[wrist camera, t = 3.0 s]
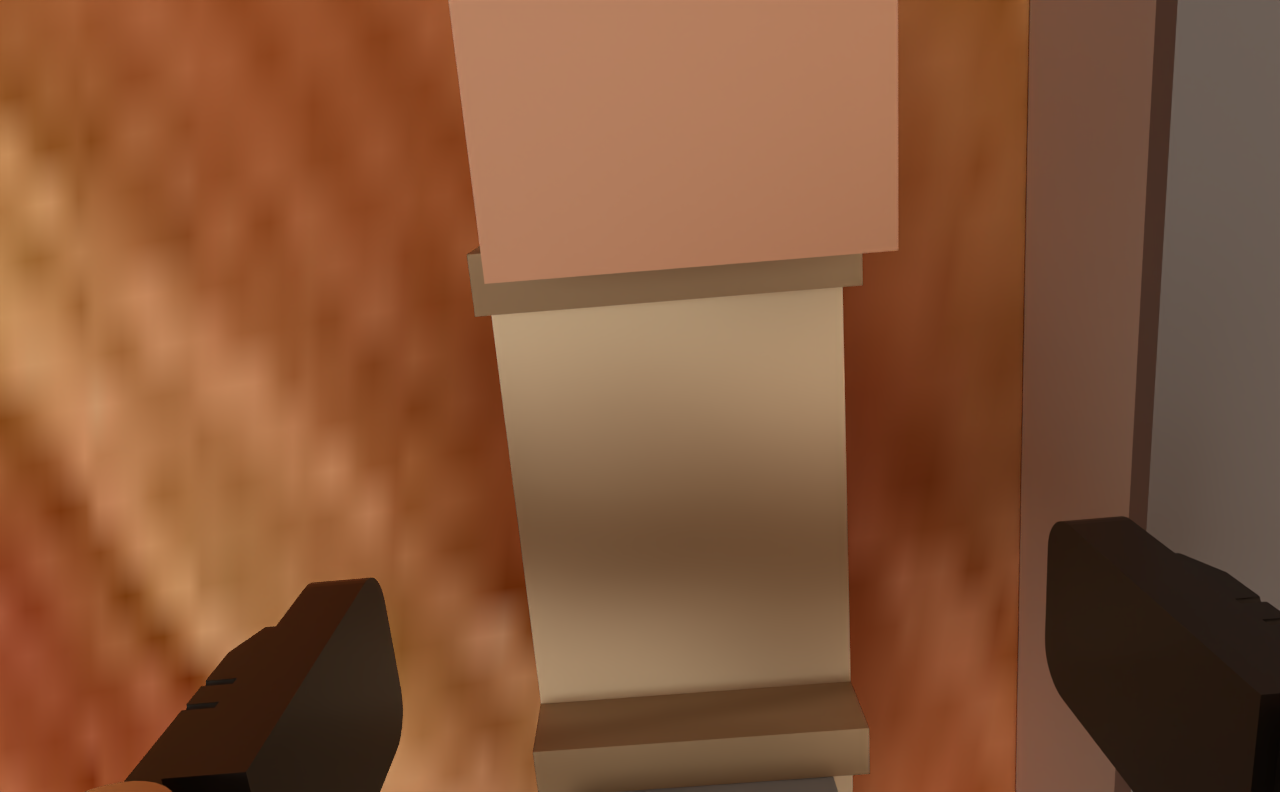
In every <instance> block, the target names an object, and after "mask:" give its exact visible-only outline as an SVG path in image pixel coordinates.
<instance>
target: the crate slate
mask: <svg viewBox="0 0 1280 792" xmlns="http://www.w3.org/2000/svg"><path fill="white" fill-rule="evenodd" d="M621 792H838V790H837V787H836V783H835V780H834V777H818V778H804V779H790V780H776V781H762V782H748V783H734V784H720V785H705V786H691V787H677V788H663V789H649V790H635V791H621Z"/></svg>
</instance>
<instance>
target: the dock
mask: <svg viewBox="0 0 1280 792" xmlns="http://www.w3.org/2000/svg"><path fill="white" fill-rule="evenodd" d="M1117 516H1124V517H1127V518H1129V519H1131V520H1132V521H1133V522H1135V523H1136V524H1137V525H1139V526H1140V527H1141V528H1143V529H1144V530H1145V531H1147V532H1148V533H1149V534H1150V535H1152V536H1153V537H1154V538H1156V539H1157V540H1158V541H1160V542H1161V543H1162V544H1164V545H1165V546H1166V547H1168V548H1169V549H1170V550H1172V551H1173V552H1174V553H1181V554H1183V555H1186V556H1188V557H1191V558H1193V559H1196V560H1198V561H1200V562H1203V563H1205V564H1208V565H1210V566H1213V567H1215V568H1218V569H1220V570H1222V571H1225V572H1227V573H1228V574H1230V575H1231V576H1232V577H1234V578H1235V579H1237V580H1238V581H1239V582H1241V583H1242V584H1243V585H1245V586H1246V587H1248V588H1249V589H1250V590H1252V591H1253V592H1254V593H1256V594H1257V595H1259V596H1260V600H1261V602H1268V603H1270V604H1271V605H1272V606H1274V607H1275V608H1276V609H1278V610H1279V611H1280V0H1030V31H1029V86H1028V141H1027V196H1026V251H1025V307H1024V362H1023V417H1022V472H1021V527H1020V583H1019V638H1018V693H1017V748H1016V792H1133V791H1132V790H1131V788H1130V787H1129V786H1128V784H1127V783H1126V782H1125V780H1124V779H1123V778H1122V777H1121V775H1120V774H1119V773H1118V771H1117V770H1116V769H1115V767H1114V766H1113V765H1112V763H1111V762H1110V761H1109V760H1108V758H1107V757H1106V756H1105V754H1104V753H1103V752H1102V750H1101V749H1100V748H1099V746H1098V745H1097V744H1096V743H1095V741H1094V740H1093V739H1092V737H1091V736H1090V735H1089V733H1088V732H1087V731H1086V729H1085V728H1084V727H1083V725H1082V724H1081V723H1080V722H1079V720H1078V719H1077V718H1076V716H1075V715H1074V714H1073V712H1072V711H1071V710H1070V708H1069V707H1068V706H1067V705H1066V703H1065V702H1064V701H1063V699H1062V698H1061V696H1060V695H1059V693H1058V691H1057V690H1056V688H1055V685H1054V683H1053V680H1052V678H1051V675H1050V671H1049V668H1048V663H1047V658H1046V651H1045V618H1046V586H1047V554H1048V539H1049V534H1050V531H1051V529H1052V527H1053V525H1054V524H1055V523H1056V522H1058V521H1070V520H1081V519H1093V518H1105V517H1117Z"/></svg>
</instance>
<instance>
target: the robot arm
mask: <svg viewBox="0 0 1280 792" xmlns="http://www.w3.org/2000/svg"><path fill="white" fill-rule="evenodd" d="M1045 651H1046V658H1047V663H1048V668H1049V671H1050V675H1051V678H1052V680H1053V683H1054V685H1055V688H1056V690H1057V691H1058V693H1059V695H1060V696H1061V698H1062V699H1063V701H1064V702H1065V703H1066V705H1067V706H1068V707H1069V708H1070V710H1071V711H1072V712H1073V714H1074V715H1075V716H1076V718H1077V719H1078V720H1079V722H1080V723H1081V724H1082V725H1083V727H1084V728H1085V729H1086V731H1087V732H1088V733H1089V735H1090V736H1091V737H1092V739H1093V740H1094V741H1095V743H1096V744H1097V745H1098V746H1099V748H1100V749H1101V750H1102V752H1103V753H1104V754H1105V756H1106V757H1107V758H1108V760H1109V761H1110V762H1111V763H1112V765H1113V766H1114V767H1115V769H1116V770H1117V771H1118V773H1119V774H1120V775H1121V777H1122V778H1123V779H1124V780H1125V782H1126V783H1127V784H1128V786H1129V787H1130V788H1131V790H1132V791H1133V792H1280V611H1279V610H1278V609H1276V608H1275V607H1274V606H1272V605H1271V604H1270V603H1268V602H1261V600H1260V596H1259V595H1257V594H1256V593H1254V592H1253V591H1252V590H1250V589H1249V588H1248V587H1246V586H1245V585H1243V584H1242V583H1241V582H1239V581H1238V580H1237V579H1235V578H1234V577H1232V576H1231V575H1230V574H1228V573H1227V572H1225V571H1222V570H1220V569H1218V568H1215V567H1213V566H1210V565H1208V564H1205V563H1203V562H1200V561H1198V560H1196V559H1193V558H1191V557H1188V556H1186V555H1183V554H1181V553H1174V552H1173V551H1172V550H1170V549H1169V548H1168V547H1166V546H1165V545H1164V544H1162V543H1161V542H1160V541H1158V540H1157V539H1156V538H1154V537H1153V536H1152V535H1150V534H1149V533H1148V532H1147V531H1145V530H1144V529H1143V528H1141V527H1140V526H1139V525H1137V524H1136V523H1135V522H1133V521H1132V520H1131V519H1129V518H1127V517H1124V516H1117V517H1105V518H1093V519H1081V520H1070V521H1058V522H1056V523H1055V524H1054V525H1053V527H1052V529H1051V531H1050V534H1049V539H1048V554H1047V586H1046V618H1045ZM402 719H403V705H402V693H401V687H400V682H399V676H398V671H397V666H396V660H395V655H394V649H393V644H392V638H391V633H390V628H389V622H388V617H387V611H386V606H385V601H384V596H383V592H382V589H381V587H380V585H379V583H378V581H377V580H376V579H374V578H362V579H351V580H339V581H327V582H315V583H310V584H308V585H307V586H306V588H305V589H304V590H303V591H302V593H301V594H300V595H299V597H298V598H297V599H296V601H295V602H294V603H293V605H292V606H291V607H290V609H289V610H288V611H287V613H286V614H285V615H284V617H283V618H282V619H281V621H280V622H279V623H278V625H277V626H275V627H265V628H264V629H262V630H261V631H259V632H258V633H256V634H255V635H253V636H252V637H251V638H249V639H248V640H246V641H245V642H243V643H242V644H240V645H239V646H237V647H236V648H235V649H233V650H232V651H230V652H229V653H228V654H227V655H226V656H225V658H224V659H223V660H222V661H221V663H220V664H219V665H218V666H217V668H216V669H215V670H214V671H213V672H212V674H211V675H210V676H209V677H208V679H207V680H206V686H201V687H200V689H199V690H198V691H197V692H196V693H195V695H194V696H193V697H192V698H191V700H190V701H189V702H188V703H187V709H186V710H183V711H181V712H180V713H179V714H178V716H177V717H176V718H175V719H174V721H173V722H172V723H171V724H170V726H169V727H168V728H167V729H166V730H165V732H164V733H163V734H162V735H161V737H160V738H159V739H158V740H157V742H156V743H155V744H154V745H153V746H152V748H151V749H150V750H149V751H148V753H147V754H146V755H145V756H144V758H143V759H142V760H141V761H140V763H139V764H138V765H137V766H136V767H135V769H134V770H133V771H132V772H131V774H130V775H129V776H128V777H127V779H126V780H125V781H124V782H119V783H114V784H109V785H105V786H101V787H98V788H94V789H91V790H88V791H85V792H380V790H381V788H382V786H383V783H384V781H385V778H386V776H387V773H388V771H389V768H390V766H391V763H392V761H393V758H394V756H395V753H396V751H397V748H398V745H399V741H400V736H401V730H402Z"/></svg>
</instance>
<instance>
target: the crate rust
mask: <svg viewBox="0 0 1280 792" xmlns="http://www.w3.org/2000/svg"><path fill="white" fill-rule="evenodd" d="M448 2H449V10H450V18H451V26H452V33H453V41H454V49H455V57H456V65H457V73H458V80H459V88H460V96H461V104H462V112H463V119H464V127H465V135H466V143H467V151H468V159H469V166H470V174H471V182H472V190H473V198H474V205H475V213H476V221H477V229H478V237H479V245H480V252H481V260H482V268H483V276H484V284H490V283H502V282H515V281H527V280H539V279H552V278H564V277H576V276H589V275H601V274H614V273H626V272H638V271H651V270H663V269H675V268H688V267H700V266H712V265H725V264H737V263H750V262H762V261H774V260H787V259H799V258H811V257H824V256H836V255H849V254H861V253H873V252H886V251H898V0H448Z"/></svg>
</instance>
